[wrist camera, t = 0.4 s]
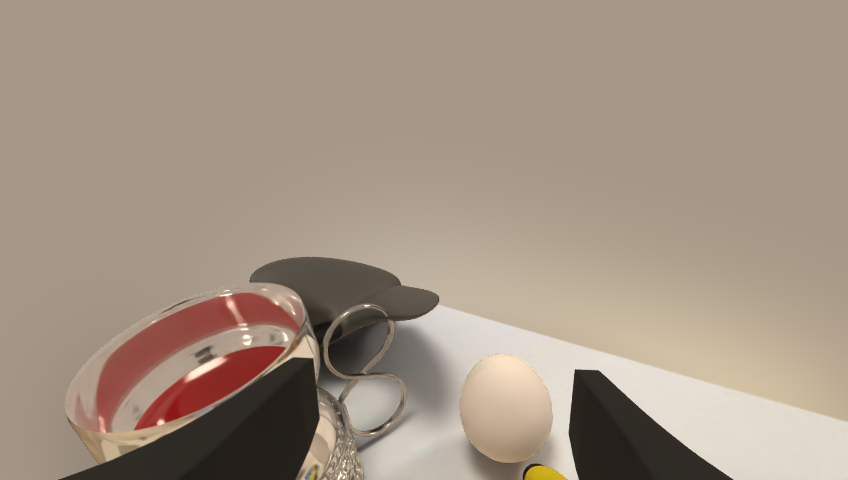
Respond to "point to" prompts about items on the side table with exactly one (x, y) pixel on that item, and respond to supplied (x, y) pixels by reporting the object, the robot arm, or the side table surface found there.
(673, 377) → the side table surface
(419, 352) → the side table surface
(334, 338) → the propeller
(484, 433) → the egg
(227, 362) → the silver candle holder
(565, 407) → the side table surface
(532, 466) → the yellow curved piece
